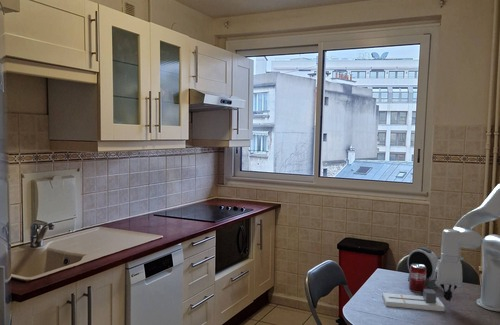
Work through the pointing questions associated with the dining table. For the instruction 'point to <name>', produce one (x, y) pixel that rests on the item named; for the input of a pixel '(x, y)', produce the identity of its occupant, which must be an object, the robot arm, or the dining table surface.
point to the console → (411, 302)
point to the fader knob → (429, 295)
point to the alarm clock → (425, 264)
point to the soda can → (417, 278)
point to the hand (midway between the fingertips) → (447, 299)
